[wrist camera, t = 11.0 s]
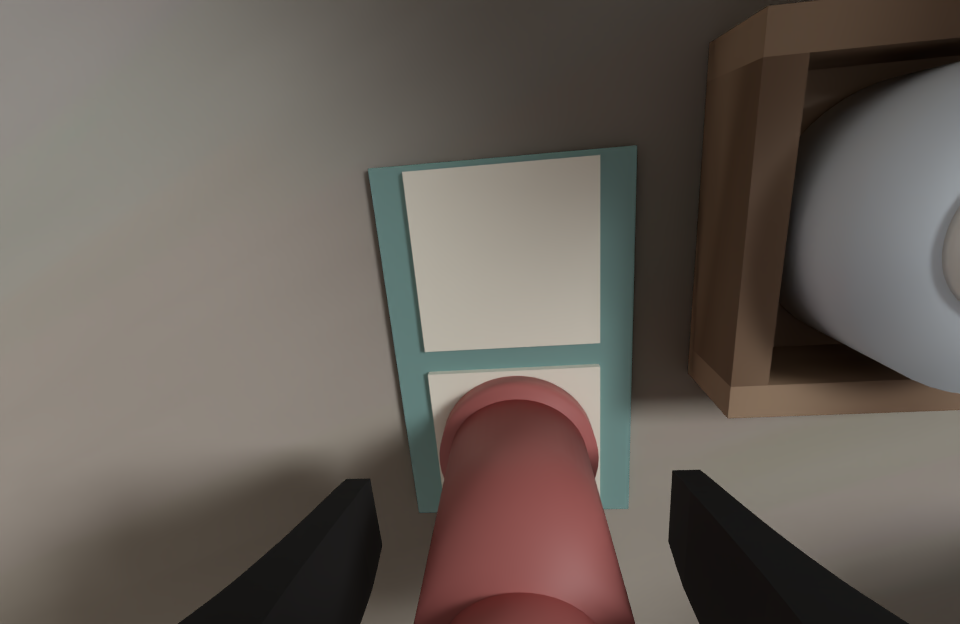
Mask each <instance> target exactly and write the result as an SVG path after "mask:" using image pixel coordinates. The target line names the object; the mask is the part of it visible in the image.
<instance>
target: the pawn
mask: <svg viewBox="0 0 960 624" xmlns="http://www.w3.org/2000/svg"><path fill="white" fill-rule="evenodd" d="M439 456H440V466H441V471H442V474H443V477H444V483H443V487H442V492H441V497H440V502H439V506H438V511H437V516H436V521H435V525H434V530H433V535H432V540H431V544H430V549H429V554H428V559H427V564H426V568H425V573H424V578H423V583H422V587H421V592H420V597H419V602H418V606H417V611H416V616H415V621H414V624H635V621H634V618H633V614H632V610H631V607H630V603H629V600H628V596H627V592H626V589H625V585H624V582H623V578H622V574H621V571H620V567H619V564H618V560H617V556H616V553H615V549H614V546H613V542H612V538H611V535H610V531H609V527H608V524H607V520H606V517H605V513H604V509H603V506H602V502H601V499H600V495H599V491H598V488H597V484H596V481H595V477H596V474H597V470H598V462H599V455H598V447H597V442H596V439H595V436H594V433H593V429H592V426H591V423H590V421H589V418H588V416H587V414H586V413H585V411H584V409H583V408H582V406H581V405H580V404H579V403H578V401H577V400H576V399H575V398H574V397H573V396H572V395H570V394H569V393H568V392H566V391H565V390H564V389H562V388H560V387H559V386H557V385H555V384H553V383H550V382H548V381H545V380H542V379H538V378H535V377H528V376H507V377H500V378H496V379H492V380H489V381H487V382H484V383H482V384H480V385H478V386H476V387H474V388H473V389H471V390H470V391H469V392H467V393H466V394H465V395H464V396H463V397H462V398H460V400H459V401H458V402H457V403H456V404H455V406H454V407H453V409H452V410H451V412H450V414H449V416H448V419H447V421H446V425H445V428H444V432H443V436H442V440H441V444H440V453H439Z"/></svg>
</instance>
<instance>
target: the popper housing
mask: <svg viewBox="0 0 960 624" xmlns="http://www.w3.org/2000/svg"><path fill="white" fill-rule="evenodd" d="M959 61H960V0H816V1H807V2H798V3H789V4H780V5H771V6H767V7H766V8H764V9H762V10H761V11H759V12H758V13H756V14H755V15H753V16H751V17H750V18H748V19H747V20H745V21H744V22H742V23H740V24H739V25H737V26H736V27H734V28H732V29H731V30H729V31H728V32H726V33H725V34H723V35H721V36H720V37H718V38H717V39H715V40H713V41H712V42H710V43H709V58H708V74H707V89H706V104H705V119H704V134H703V150H702V165H701V180H700V195H699V210H698V226H697V241H696V256H695V271H694V286H693V302H692V317H691V332H690V347H689V363H688V374H689V375H690V376H691V377H692V378H693V379H694V381H695V382H696V383H697V384H698V385H699V386H700V387H701V388H702V390H703V391H704V392H705V393H706V394H707V395H708V396H709V398H710V399H711V400H712V401H713V402H714V403H715V404H716V406H717V407H718V408H719V409H720V410H721V411H722V412H723V414H724V415H725V416H726V417H727V418H751V417H778V416H806V415H834V414H862V413H889V412H917V411H945V410H960V393H952V392H947V391H943V390H940V389H936V388H932V387H929V386H926V385H924V384H922V383H919V382H917V381H914V380H912V379H910V378H908V377H906V376H904V375H902V374H900V373H898V372H896V371H895V370H893V369H891V368H889V367H887V366H885V365H883V364H881V363H879V362H877V361H875V360H873V359H872V358H870V357H868V356H866V355H864V354H862V353H860V352H858V351H856V350H854V349H852V348H850V347H848V346H847V345H845V344H843V343H841V342H839V341H837V340H835V339H833V338H831V337H829V336H827V335H825V334H824V333H822V332H820V331H818V330H816V329H814V328H812V327H810V326H808V325H807V324H805V323H803V322H802V321H800V320H798V319H797V318H795V317H794V316H793V315H792V314H790V313H789V312H788V311H787V310H786V309H785V308H784V307H783V306H782V305H781V304H780V303H779V296H780V288H781V280H782V272H783V264H784V256H785V248H786V241H787V233H788V225H789V217H790V209H791V201H792V193H793V185H794V177H795V169H796V162H797V154H798V146H799V138H800V136H801V135H802V134H803V133H804V132H805V130H806V129H807V128H808V127H809V126H810V125H811V124H812V123H814V122H815V121H816V120H817V119H818V118H819V117H820V116H822V115H823V114H824V113H825V112H826V111H828V110H829V109H831V108H832V107H833V106H835V105H836V104H838V103H839V102H841V101H842V100H843V99H845V98H847V97H849V96H851V95H852V94H854V93H856V92H858V91H860V90H861V89H864V88H866V87H868V86H871V85H873V84H876V83H878V82H880V81H883V80H887V79H890V78H894V77H897V76H901V75H905V74H909V73H913V72H917V71H921V70H925V69H930V68H934V67H938V66H942V65H946V64H950V63H955V62H959Z"/></svg>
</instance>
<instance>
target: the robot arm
mask: <svg viewBox="0 0 960 624" xmlns="http://www.w3.org/2000/svg"><path fill="white" fill-rule="evenodd" d="M668 542H669V545H670V548H671V551H672V554H673V558H674V561H675V564H676V567H677V570H678V573H679V576H680V579H681V582H682V585H683V588H684V590H685V592H686V595H687V597H688V599H689V601H690V604H691V606H692V608H693V610H694V613H695V615H696V617H697V619H698V622H699V624H908V623H907V622H905V621H904V620H902V619H900V618H899V617H897V616H896V615H894V614H893V613H891V612H890V611H888V610H886V609H885V608H883V607H882V606H880V605H879V604H877V603H876V602H874V601H872V600H871V599H869V598H868V597H866V596H865V595H863V594H862V593H860V592H859V591H857V590H856V589H854V588H853V587H851V586H850V585H848V584H847V583H845V582H844V581H842V580H841V579H839V578H838V577H837V576H835V575H834V574H832V573H831V572H830V571H828V570H827V569H825V568H824V567H823V566H821V565H820V564H819V563H817V562H816V561H814V560H813V559H812V558H810V557H809V556H807V555H806V554H805V553H803V552H802V551H801V550H799V549H798V548H797V547H795V546H794V545H793V544H791V543H790V542H789V541H787V540H786V539H785V538H783V537H782V536H781V535H780V534H778V533H777V532H776V531H774V530H773V529H772V528H771V527H769V526H768V525H767V524H766V523H764V522H763V521H762V520H761V519H759V518H758V517H757V516H756V515H754V514H753V513H752V512H751V511H749V510H748V509H747V508H746V507H745V506H743V505H742V504H741V503H740V502H738V501H737V500H736V499H735V498H734V497H732V496H731V495H730V494H729V493H728V492H726V491H725V490H724V489H723V488H722V487H720V486H719V485H718V484H717V483H716V482H714V481H713V480H712V479H711V478H709V477H708V476H707V475H706V474H705V473H703V472H702V471H701V470H675V471H672V488H671V505H670V522H669V539H668ZM381 548H382V541H381V536H380V531H379V525H378V520H377V514H376V509H375V503H374V498H373V493H372V487H371V482H370V479H346V480H345V481H344V482H342V483H341V484H340V485H339V486H338V487H337V488H336V489H335V490H334V491H333V492H332V493H331V494H330V495H329V496H328V497H326V498H325V499H324V500H323V501H322V502H321V503H320V504H319V505H318V506H317V507H316V508H315V509H314V510H313V511H312V512H311V513H310V514H309V515H308V516H307V517H306V518H305V519H304V520H302V521H301V522H300V523H299V524H298V525H297V526H296V527H295V528H294V529H293V530H292V531H291V532H290V533H289V534H287V535H286V536H285V537H284V538H283V539H282V540H281V541H280V542H279V543H278V544H277V545H275V546H274V547H273V548H272V549H271V550H270V551H268V552H267V553H266V554H265V555H264V556H263V557H262V558H260V559H259V560H258V561H257V562H256V563H255V564H253V565H252V566H251V567H250V568H249V569H248V570H247V571H245V572H244V573H243V574H242V575H241V576H240V577H238V578H237V579H236V580H235V581H233V582H232V583H231V584H230V585H228V586H227V587H226V588H225V589H223V590H222V591H221V592H220V593H218V594H217V595H216V596H215V597H213V598H212V599H211V600H209V601H208V602H207V603H205V604H204V605H203V606H201V607H200V608H199V609H197V610H196V611H195V612H193V613H192V614H191V615H189V616H188V617H186V618H185V619H184V620H182V621H181V622H179V623H178V624H360V623H361V620H362V617H363V614H364V612H365V609H366V606H367V603H368V600H369V597H370V594H371V591H372V588H373V584H374V580H375V575H376V571H377V567H378V562H379V558H380V553H381Z"/></svg>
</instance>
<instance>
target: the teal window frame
mask: <svg viewBox="0 0 960 624" xmlns="http://www.w3.org/2000/svg"><path fill="white" fill-rule="evenodd" d="M636 170H637V145H634V146H623V147H611V148H600V149H588V150H577V151H565V152H554V153H542V154H531V155H519V156H508V157H496V158H485V159H473V160H462V161H450V162H439V163H427V164H416V165H405V166H393V167H382V168H370V169H368V173H369V180H370V186H371V193H372V200H373V207H374V213H375V220H376V227H377V233H378V240H379V247H380V254H381V260H382V267H383V274H384V280H385V287H386V294H387V301H388V307H389V314H390V321H391V327H392V334H393V341H394V348H395V354H396V361H397V368H398V374H399V381H400V388H401V395H402V401H403V408H404V415H405V421H406V428H407V435H408V442H409V448H410V455H411V462H412V468H413V475H414V482H415V489H416V495H417V502H418V509H419V513H435V512H437V511H438V506H439V502H440V497H441V492H442V487H443V483H444V477H443V474H442V471H441V466H440V456H439V453H440V444H441V440H442V436H443V432H444V428H445V425H446V421H447V419H448V416H449V414H450V412H451V410H452V409H453V407H454V406H455V404H456V403H457V402H458V401H459V400H460V398H462V397H463V396H464V395H465V394H466V393H467V392H469V391H470V390H471V389H473V388H474V387H476V386H478V385H480V384H482V383H484V382H487V381H489V380H492V379H496V378H500V377H507V376H528V377H535V378H538V379H542V380H545V381H548V382H550V383H553V384H555V385H557V386H559V387H560V388H562V389H564V390H565V391H566V392H568V393H569V394H570V395H572V396H573V397H574V398H575V399H576V400H577V401H578V403H579V404H580V405H581V406H582V408H583V409H584V411H585V413H586V414H587V416H588V418H589V421H590V423H591V426H592V429H593V433H594V436H595V439H596V442H597V447H598V455H599V462H598V470H597V474H596V477H595V481H596V484H597V488H598V491H599V495H600V499H601V502H602V506H603V509H628V502H629V461H630V419H631V378H632V336H633V295H634V253H635V212H636Z"/></svg>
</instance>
